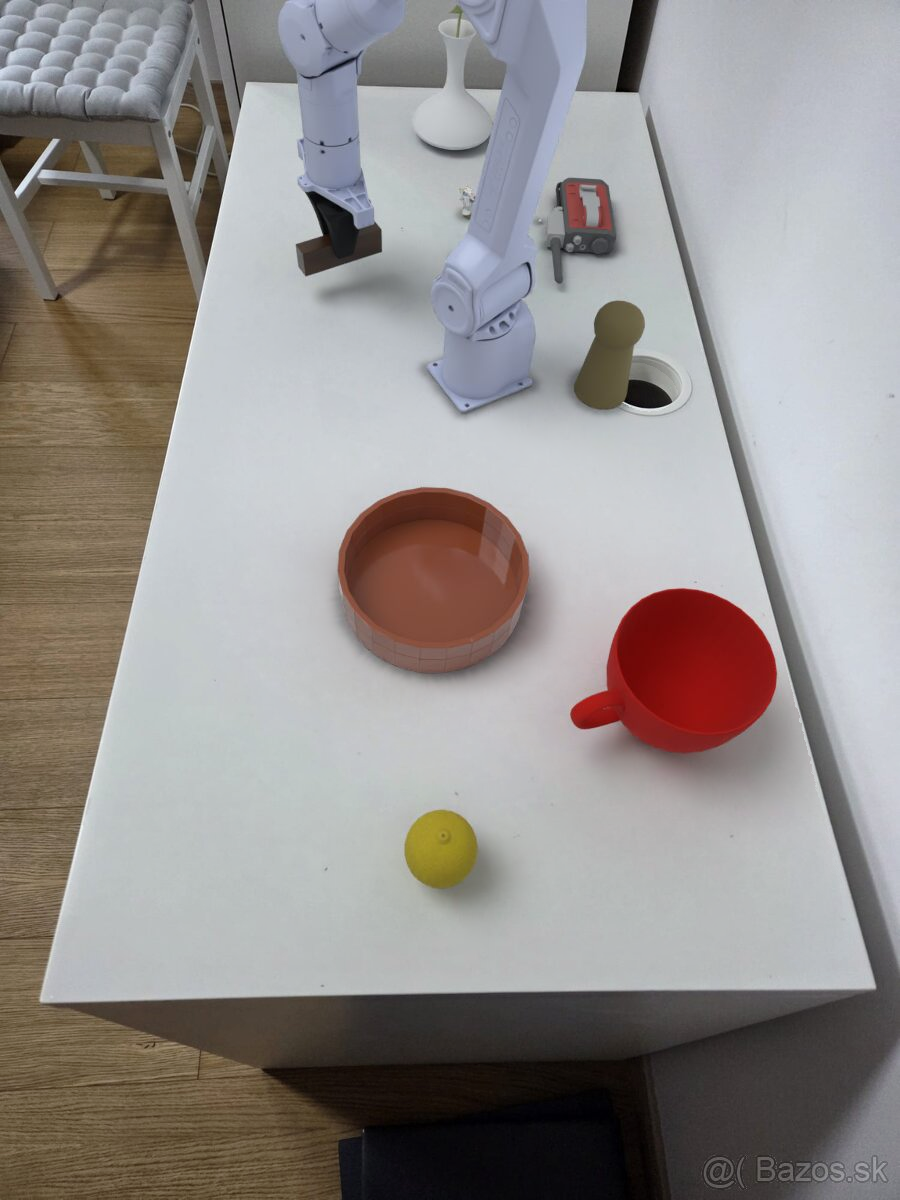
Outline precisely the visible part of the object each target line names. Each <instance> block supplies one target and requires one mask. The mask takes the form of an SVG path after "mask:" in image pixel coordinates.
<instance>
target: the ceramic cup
mask: <svg viewBox="0 0 900 1200" xmlns="http://www.w3.org/2000/svg"><path fill="white" fill-rule="evenodd" d="M614 632H615V633H614V635H613V637H612V640H611V644H610V648H609V652H608V657H607V663H606V688H607V690H604V691H600V692H596V693H594V694H591V695H589V696H587V697H585V698H583V699H582V700H580V701H579V702H576V704H575V705H574V706H572V708H571V709H570V713H569V716H570V717H569V718H570V720H571V722H572V723H573V725H574V726H575V727H576V728H577V729H579V730H591V729H596V728H600V727H604V726H607V725H610V724H614V723H617V722H621V723H622V724H623V726H624V727H625V728H626V729H627V730H628V731H629V732H630V733H631V734H632V735H633V736H634V737H636V738H637V739H638V740H640V741H641V742H643V743H644V744H646V745H648V746H651V747H653V748H655V749H658V750H660V751H665V752H668V753H676V754H694V753H701V752H706V751H708V750H712V749H715V748H718V747H720V746H722V745H724V744H726V743H728V742H729V741H731V740H733V739H735V738H736V737H738V736H739V735H741V734H742V733H744V732H745V731H747V730H748V729H749V728H750V727H751V726H753V724H754V723H755V722H757V721H758V720H759V719H760V718H761V717H762V716H763V715H764V713H765V712H766V710H767V709H768V707H769V706H770V704H771V703H772V701H773V698H774V694H775V691H776V689H777V679H778V670H777V662H776V657H775V654H774V651H773V648H772V646H771V645H772V644H770V642H769V640H768V638H767V636H766V634H765V633H764V630H762V628H761V627H760V626H759V625H758V623H756V621H755V620H754V619H753V618H752V617H751V616H750V615H748V614H747V612H745V611H744V610H743V609H742V608H740V607H739V606H737V605H736V604H734V603H733V602H731V601H729V600H728V599H726V598H723V597H721V596H719V595H717V594H715V593H713V592H708V591H704V590H700V589H696V588H695V589H694V588H685V587H680V588H679V587H678V588H667V589H663V590H659V591H656V592H652V593H651V594H648V595H646V596H644V597H642V598H641V599H639V600H638V601H637V602H636V603H634V604H633V605H632V606H631V607H630V608H629V609H628V610H627V612H626V613H625V614H624V615H623V617H622V618H621V620H620V622H619V624H618V626H617V628H616V630H615V631H614Z"/></svg>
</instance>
